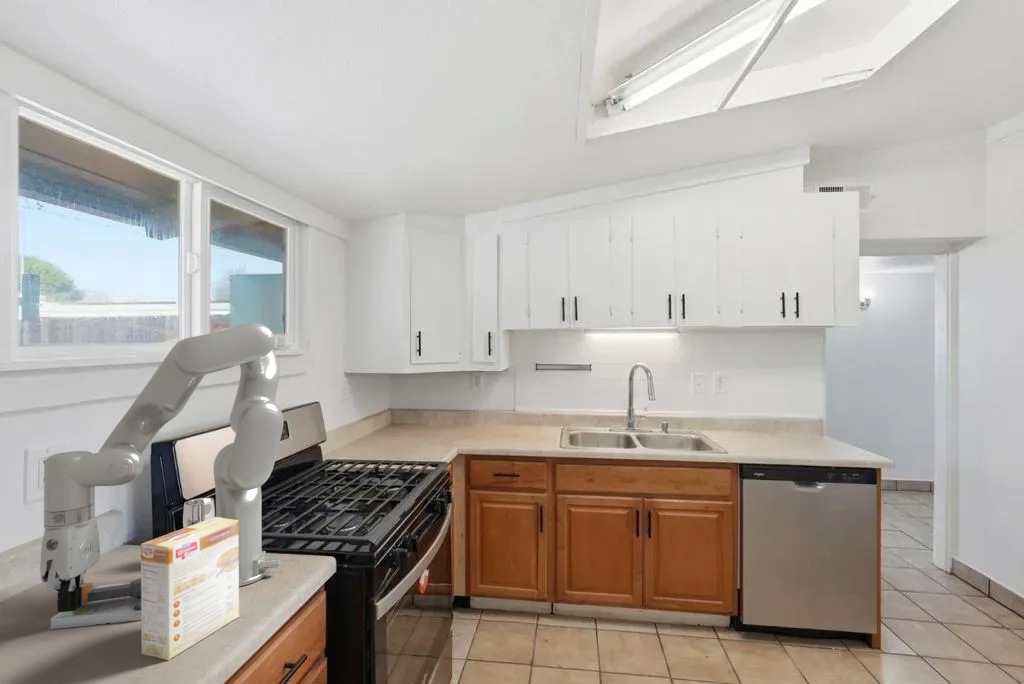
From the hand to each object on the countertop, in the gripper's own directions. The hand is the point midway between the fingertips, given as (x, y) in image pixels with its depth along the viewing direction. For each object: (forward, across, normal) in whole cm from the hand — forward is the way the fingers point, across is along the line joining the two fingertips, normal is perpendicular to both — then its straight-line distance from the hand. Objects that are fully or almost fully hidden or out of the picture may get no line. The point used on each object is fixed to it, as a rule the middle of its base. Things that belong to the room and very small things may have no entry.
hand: (69, 609), depth 97 cm
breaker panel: (+3, +6, -5) cm, 9 cm away
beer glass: (+3, +29, -12) cm, 31 cm away
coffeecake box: (+3, -9, -26) cm, 27 cm away
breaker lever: (+1, +5, -5) cm, 7 cm away
